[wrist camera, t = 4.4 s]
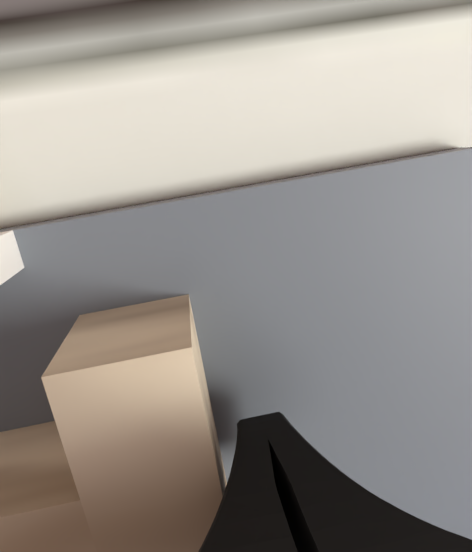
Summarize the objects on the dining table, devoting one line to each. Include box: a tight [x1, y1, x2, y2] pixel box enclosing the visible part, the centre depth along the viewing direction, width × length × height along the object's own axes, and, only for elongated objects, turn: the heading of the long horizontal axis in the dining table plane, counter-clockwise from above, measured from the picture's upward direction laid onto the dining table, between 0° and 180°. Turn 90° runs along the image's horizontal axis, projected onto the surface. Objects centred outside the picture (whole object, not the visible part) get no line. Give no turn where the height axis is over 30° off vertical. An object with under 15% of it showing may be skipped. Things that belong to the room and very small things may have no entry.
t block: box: [0, 294, 227, 552], centre depth 12 cm, size 9×9×4 cm
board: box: [0, 147, 472, 540], centre depth 14 cm, size 14×26×1 cm, turn 100°
